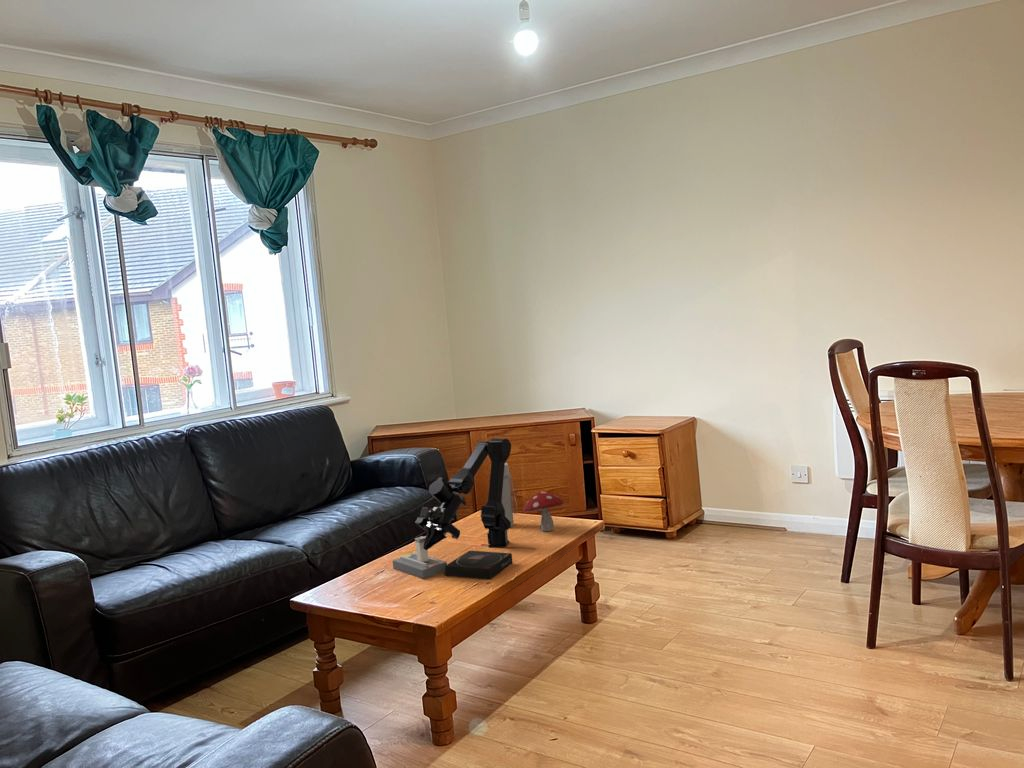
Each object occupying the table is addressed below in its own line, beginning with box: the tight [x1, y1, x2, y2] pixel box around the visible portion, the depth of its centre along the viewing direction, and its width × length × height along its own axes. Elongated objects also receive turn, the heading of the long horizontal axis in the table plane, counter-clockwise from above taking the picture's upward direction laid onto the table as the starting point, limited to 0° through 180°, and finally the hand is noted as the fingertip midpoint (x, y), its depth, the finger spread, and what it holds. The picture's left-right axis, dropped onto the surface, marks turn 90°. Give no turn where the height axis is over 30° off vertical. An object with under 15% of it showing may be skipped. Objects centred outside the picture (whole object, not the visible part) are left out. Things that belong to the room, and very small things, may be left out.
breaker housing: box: [392, 552, 448, 580], centre depth 273 cm, size 10×18×4 cm, turn 41°
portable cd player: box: [443, 550, 514, 581], centre depth 268 cm, size 16×17×4 cm
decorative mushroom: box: [522, 491, 565, 532], centre depth 307 cm, size 16×16×15 cm
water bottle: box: [501, 462, 518, 528], centre depth 318 cm, size 9×8×25 cm
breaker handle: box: [414, 535, 429, 562], centre depth 271 cm, size 3×3×8 cm
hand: (424, 549), depth 267 cm, fingers closed
